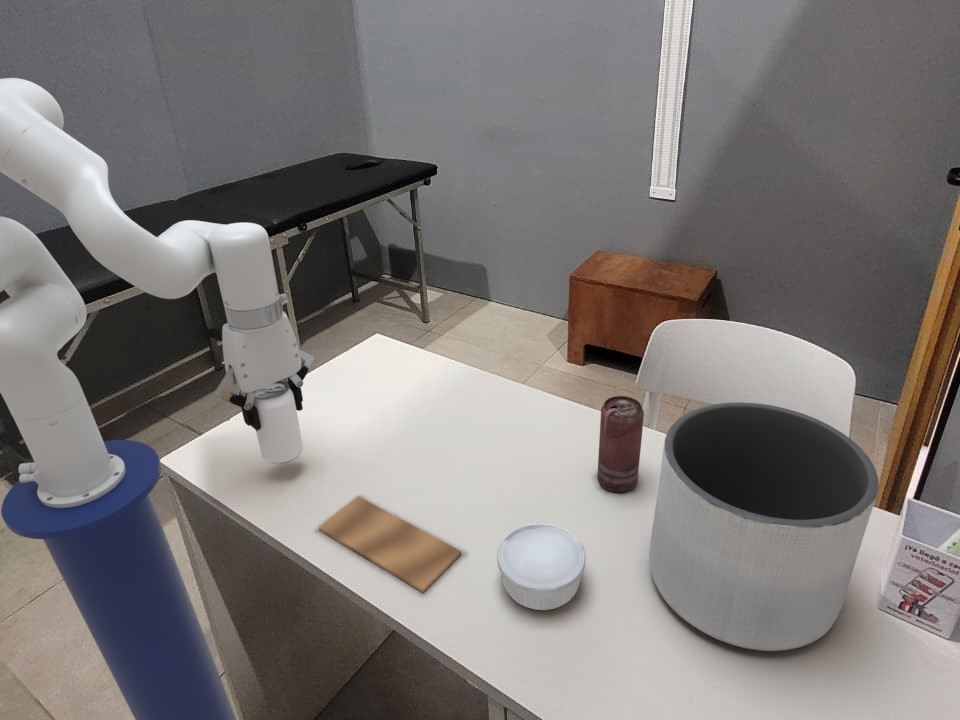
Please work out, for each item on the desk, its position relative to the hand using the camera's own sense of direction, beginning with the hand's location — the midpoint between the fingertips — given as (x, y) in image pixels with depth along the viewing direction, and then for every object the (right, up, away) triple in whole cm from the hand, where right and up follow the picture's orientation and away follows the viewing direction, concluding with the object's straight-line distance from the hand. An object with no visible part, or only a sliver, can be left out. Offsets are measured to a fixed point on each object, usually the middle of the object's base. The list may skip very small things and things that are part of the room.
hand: (275, 415), depth 101 cm
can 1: (0, -6, +4) cm, 7 cm away
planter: (+65, -20, -18) cm, 70 cm away
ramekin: (+40, -20, -17) cm, 48 cm away
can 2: (+53, -10, 0) cm, 54 cm away
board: (+19, -17, -9) cm, 27 cm away
